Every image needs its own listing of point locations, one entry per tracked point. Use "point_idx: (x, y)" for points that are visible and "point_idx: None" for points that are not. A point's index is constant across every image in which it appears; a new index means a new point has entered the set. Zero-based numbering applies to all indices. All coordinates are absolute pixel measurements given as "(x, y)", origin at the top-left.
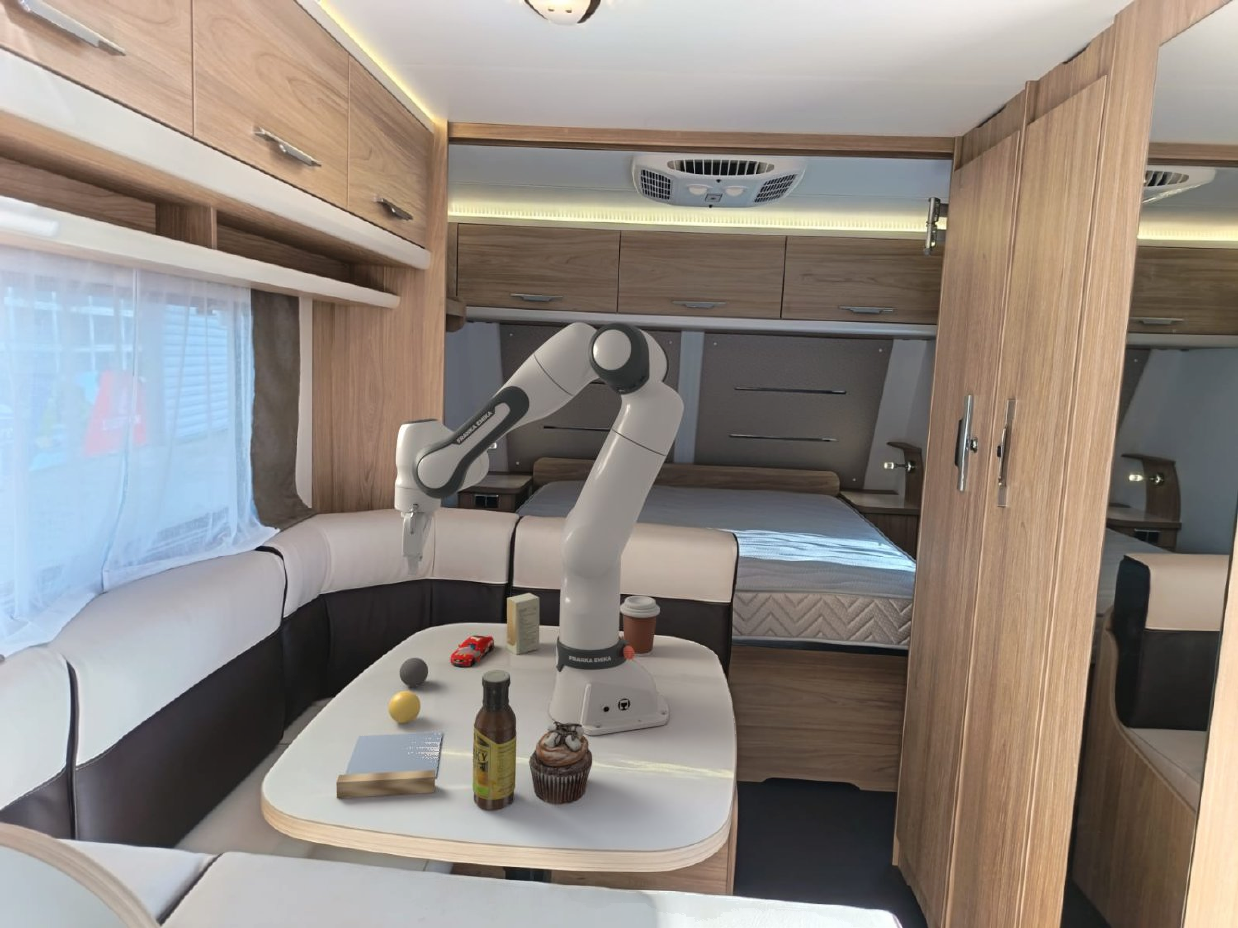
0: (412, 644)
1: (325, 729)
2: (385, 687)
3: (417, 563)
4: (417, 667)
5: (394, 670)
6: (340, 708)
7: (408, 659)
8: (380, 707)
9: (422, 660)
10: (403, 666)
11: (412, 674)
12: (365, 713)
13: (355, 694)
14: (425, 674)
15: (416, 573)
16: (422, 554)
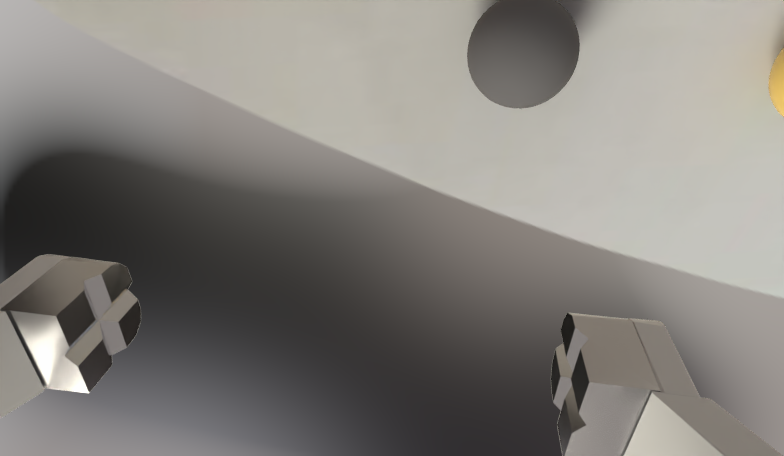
0: (164, 61)
1: (738, 262)
2: (512, 132)
3: (770, 452)
4: (569, 45)
5: (384, 111)
6: (621, 238)
7: (513, 88)
8: (659, 139)
9: (522, 27)
10: (539, 101)
11: (577, 59)
12: (684, 177)
13: (540, 208)
14: (559, 4)
15: (662, 333)
16: (39, 294)
